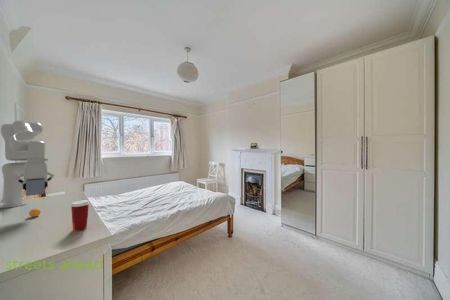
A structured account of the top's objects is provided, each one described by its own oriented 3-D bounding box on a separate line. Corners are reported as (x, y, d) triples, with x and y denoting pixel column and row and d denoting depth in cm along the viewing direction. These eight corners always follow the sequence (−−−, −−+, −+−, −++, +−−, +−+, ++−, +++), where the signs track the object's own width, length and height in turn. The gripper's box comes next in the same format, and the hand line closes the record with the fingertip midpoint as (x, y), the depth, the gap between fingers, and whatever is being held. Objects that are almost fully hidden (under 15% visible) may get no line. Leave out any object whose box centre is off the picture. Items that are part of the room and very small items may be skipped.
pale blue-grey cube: (26, 193, 110) (26, 179, 110) (44, 191, 115) (44, 178, 115) (25, 195, 104) (26, 181, 104) (44, 193, 110) (44, 179, 110)
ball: (28, 213, 105) (28, 219, 107) (41, 211, 109) (40, 217, 110) (29, 207, 108) (29, 213, 110) (41, 205, 112) (40, 211, 113)
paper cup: (92, 226, 96) (93, 200, 96) (79, 232, 88) (80, 204, 89) (79, 225, 97) (80, 199, 97) (65, 231, 89) (66, 203, 89)
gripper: (54, 160, 119) (54, 186, 119) (14, 161, 106) (14, 190, 106) (55, 160, 114) (55, 188, 114) (13, 161, 101) (13, 192, 101)
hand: (35, 189), depth 110 cm, fingers closed on pale blue-grey cube, 7 cm apart
